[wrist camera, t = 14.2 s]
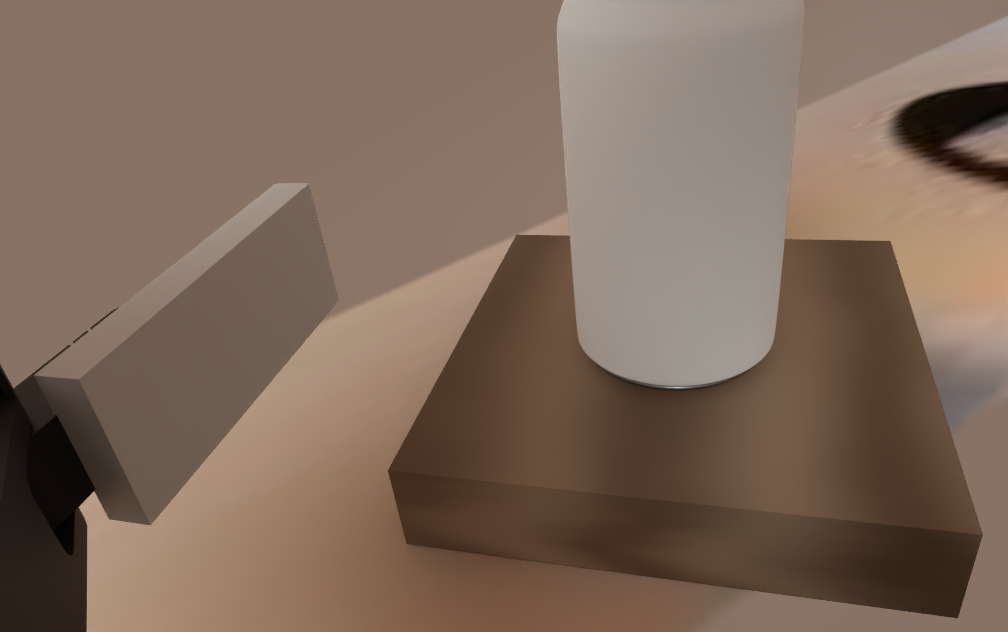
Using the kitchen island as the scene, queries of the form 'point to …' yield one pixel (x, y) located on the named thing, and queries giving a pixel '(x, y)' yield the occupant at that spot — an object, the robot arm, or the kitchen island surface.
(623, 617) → the kitchen island surface
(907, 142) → the kitchen island surface
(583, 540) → the walnut board
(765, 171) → the can
